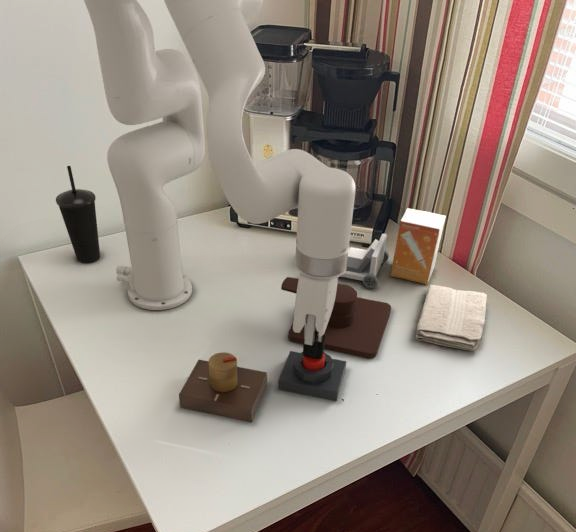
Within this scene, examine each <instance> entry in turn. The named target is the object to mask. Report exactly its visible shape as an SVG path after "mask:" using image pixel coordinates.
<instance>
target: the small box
mask: <svg viewBox="0 0 576 532" xmlns="http://www.w3.org/2000/svg"><path fill="white" fill-rule="evenodd" d="M446 219H447V215H443V214H439V213H434V212H431V211H425V210H419V209H415V208H409V207H407V208H406V210H405V212H404V213H403V215H402V217H401V219H400V221H399V227H398V232H397V238H396V243H395V248H394V254H393V258H392V259H393V260H392V266H391V271H390V277H393V278H398V279H402V280H406V281H411V282H414V283H419V284H423V285H426V286H427V285H429V281H430V280H431V277H432V274H433V273H434V270H435V265H436V261H437V257H438V254H439V253H438V252H439V248H440V243H441V238H442V235H443V231H444V226H445V222H446Z"/></svg>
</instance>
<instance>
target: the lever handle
mask: <svg viewBox="0 0 576 532" xmlns="http://www.w3.org/2000/svg"><path fill="white" fill-rule="evenodd" d="M298 280H299V277H291V276H287V277H285V278H284V280H283V281H282V282H281V286H280V290H282V291H285V292H288V293H292V294H296V293H297V286H298ZM391 311H392V306H391V304H390V303H388V302H384V301H380V300H374V299H369V298H364V297H359V296H358V292H357V290H356V289H355V288H354V287H352V286H351V285H348V284H345V283H340V282H339V283H338V282H337V291H336V297H335V302H334V306H333V310H332V313H331V316H330V319H329V322H328V324H327V327H326V330H325V333H324V335H325V345H324V350H326V351H331V352H336V353H341V354H345V355H349V356H354V357H359V358H364V359H375V358H376V357H377V355H378V352H379V349H380V347H381V343H382V341H383V337H384V334H385V331H386V328H387V325H388V321H389V318H390V315H391ZM304 329H305V325H304V326H303V328H302V330H301V331H300V333H297V332H296V333H295V332H294V331H293V323H292V324H291V326H290V328H289V330H288V335H287V336H288V338H287V339H288V341H289V342H292V343H295V344H298V345H303V343H304Z"/></svg>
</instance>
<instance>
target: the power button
mask: <svg viewBox="0 0 576 532" xmlns="http://www.w3.org/2000/svg"><path fill="white" fill-rule="evenodd" d="M324 353H325V352H324ZM324 353H323V356H322V359H315V358H310V357H305V356H303V366H304V367H305V368H306V369H307V370H312V371H317V370H321V369H322V368H323V367H324V364H325V354H324Z"/></svg>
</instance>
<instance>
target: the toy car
mask: <svg viewBox="0 0 576 532" xmlns="http://www.w3.org/2000/svg"><path fill="white" fill-rule="evenodd" d="M387 239H388V234H387V233H382V234H381V236H380V238H379V240H378V239H376V238H375V240H373V241H372V243H371V244H370V245H369V247H368V248H367V249H362V248H357V247H353V246H351V247H349V250H348V259H347V268H346V271H345V273H344V274H343V275H341V276H340V277H341V278H347V279H351V280H357V281H361V282H362V284H363V286H364V287H365V288H367V289H370V290H371V289H372V290H373V289H375V288H377V286H378V284H379V279H378V277H377V275H378V272H379V270H380V268H381V266H382V264H384V263H386V262H388V261H389V258H390V254H389V252H388V251H387V250H386V246H387V245H386V244H387Z"/></svg>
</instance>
